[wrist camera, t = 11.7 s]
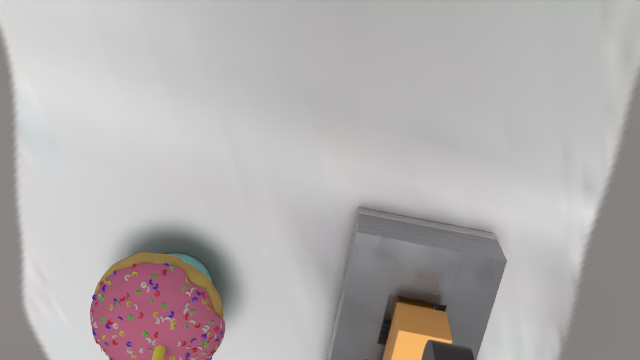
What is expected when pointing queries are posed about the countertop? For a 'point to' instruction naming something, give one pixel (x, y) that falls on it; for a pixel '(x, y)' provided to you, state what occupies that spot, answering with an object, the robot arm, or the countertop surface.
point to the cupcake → (157, 309)
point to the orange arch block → (414, 329)
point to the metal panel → (414, 280)
